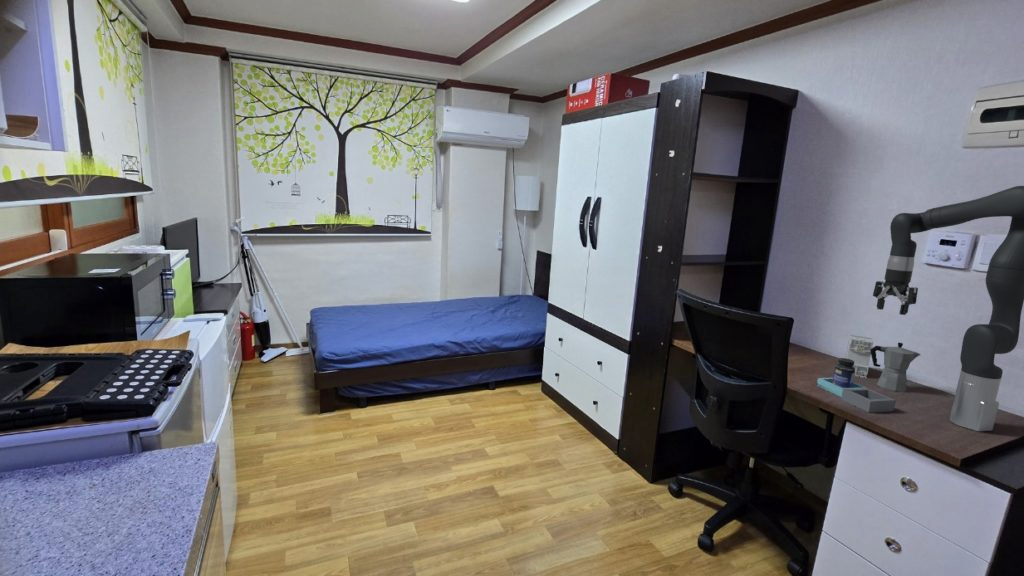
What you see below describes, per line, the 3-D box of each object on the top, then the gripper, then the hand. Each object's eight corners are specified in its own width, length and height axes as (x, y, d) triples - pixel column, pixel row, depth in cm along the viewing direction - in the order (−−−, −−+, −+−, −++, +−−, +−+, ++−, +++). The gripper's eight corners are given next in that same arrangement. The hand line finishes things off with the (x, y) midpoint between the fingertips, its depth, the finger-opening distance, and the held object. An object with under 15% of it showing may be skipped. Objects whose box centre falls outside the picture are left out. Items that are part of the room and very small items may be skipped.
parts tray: (866, 396, 174) (868, 388, 173) (841, 397, 172) (843, 389, 171) (840, 384, 184) (841, 377, 184) (816, 385, 182) (818, 378, 182)
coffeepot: (908, 386, 186) (917, 342, 183) (917, 395, 177) (927, 348, 174) (860, 379, 192) (869, 336, 188) (867, 387, 183) (876, 342, 180)
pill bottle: (829, 387, 178) (834, 359, 176) (834, 383, 182) (839, 356, 180) (848, 392, 174) (854, 363, 172) (853, 389, 178) (858, 360, 176)
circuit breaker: (865, 368, 205) (871, 335, 203) (866, 378, 194) (873, 342, 191) (844, 364, 209) (850, 331, 207) (844, 373, 198) (850, 338, 195)
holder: (893, 411, 162) (895, 400, 161) (868, 412, 159) (870, 401, 159) (865, 398, 172) (867, 387, 171) (840, 399, 169) (842, 389, 169)
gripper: (928, 271, 168) (918, 316, 171) (888, 265, 181) (880, 307, 184) (911, 271, 166) (902, 316, 169) (872, 265, 180) (865, 307, 183)
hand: (891, 311), depth 177 cm, fingers open, 8 cm apart
